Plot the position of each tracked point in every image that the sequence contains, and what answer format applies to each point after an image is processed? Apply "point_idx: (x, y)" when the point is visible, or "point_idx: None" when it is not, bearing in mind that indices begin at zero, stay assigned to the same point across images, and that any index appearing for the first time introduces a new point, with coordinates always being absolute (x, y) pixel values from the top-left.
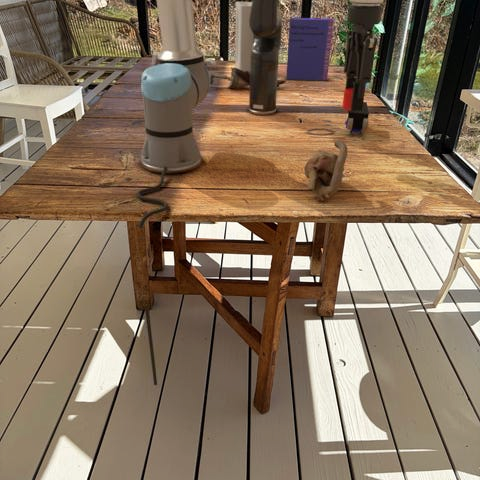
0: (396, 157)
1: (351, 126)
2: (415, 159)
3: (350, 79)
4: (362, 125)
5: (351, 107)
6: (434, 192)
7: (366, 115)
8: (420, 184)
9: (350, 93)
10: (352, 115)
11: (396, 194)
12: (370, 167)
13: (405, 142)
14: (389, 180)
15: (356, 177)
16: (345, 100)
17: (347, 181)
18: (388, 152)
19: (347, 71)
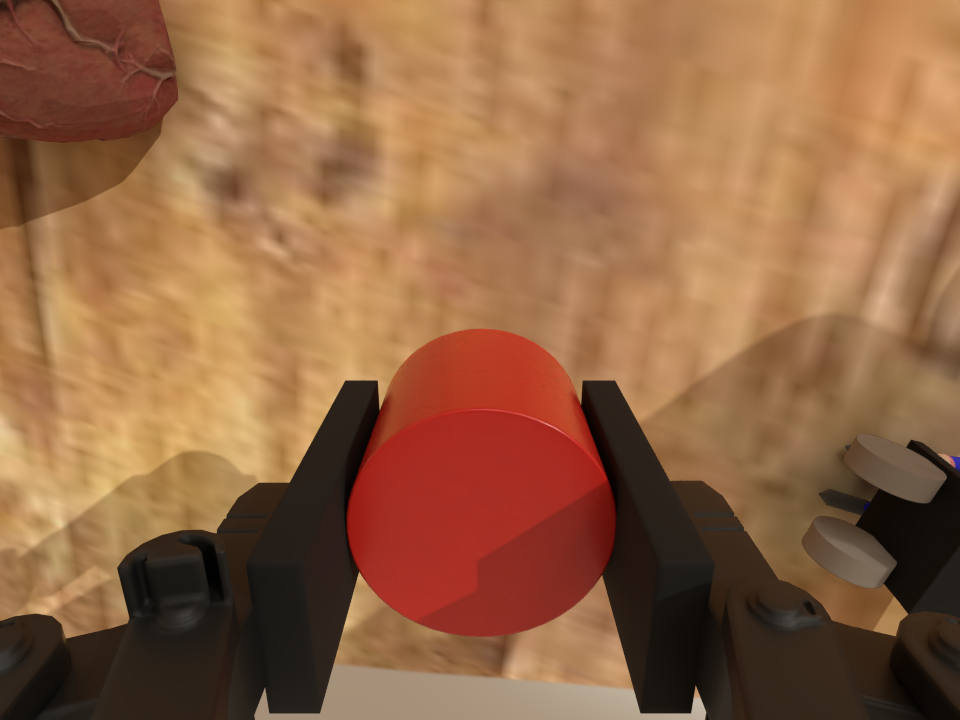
0: None
1: (850, 461)
2: None
3: (650, 598)
4: (874, 536)
5: (356, 392)
6: (64, 545)
7: (909, 595)
8: (146, 526)
9: (374, 446)
10: (957, 514)
11: (17, 385)
12: None
13: None
14: (182, 414)
15: (212, 264)
16: (440, 369)
17: (153, 194)
18: None
19: (788, 661)
